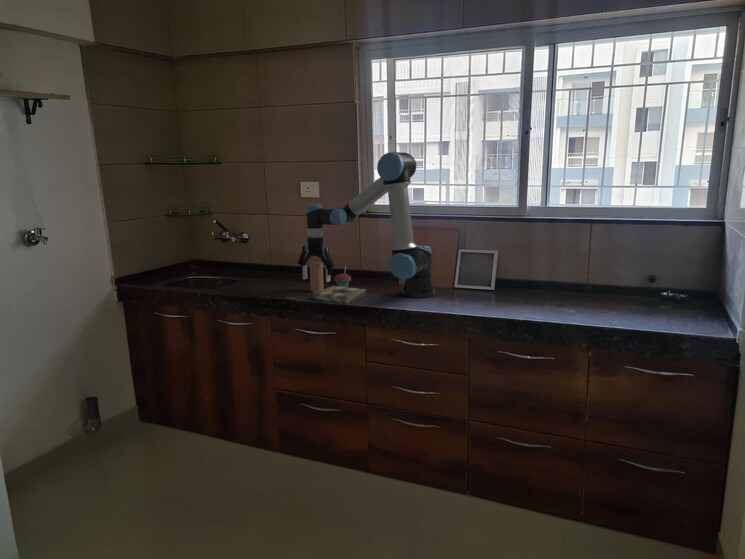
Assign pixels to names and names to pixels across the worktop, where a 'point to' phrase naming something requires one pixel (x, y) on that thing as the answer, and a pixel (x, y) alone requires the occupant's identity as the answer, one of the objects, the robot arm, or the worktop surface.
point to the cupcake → (342, 279)
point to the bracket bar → (316, 276)
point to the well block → (339, 294)
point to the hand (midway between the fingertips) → (316, 280)
